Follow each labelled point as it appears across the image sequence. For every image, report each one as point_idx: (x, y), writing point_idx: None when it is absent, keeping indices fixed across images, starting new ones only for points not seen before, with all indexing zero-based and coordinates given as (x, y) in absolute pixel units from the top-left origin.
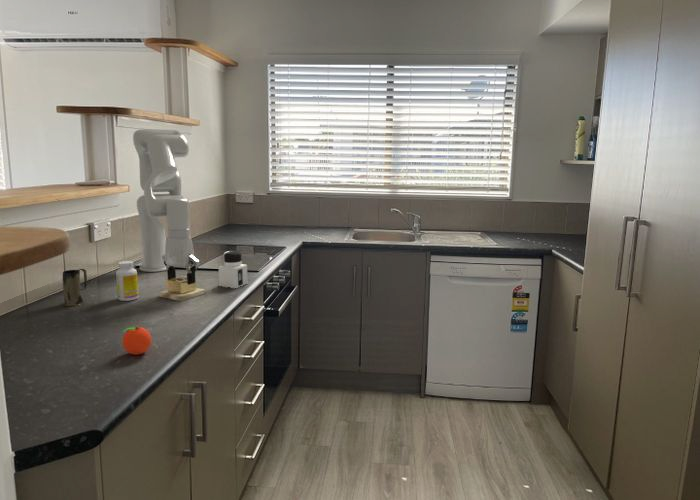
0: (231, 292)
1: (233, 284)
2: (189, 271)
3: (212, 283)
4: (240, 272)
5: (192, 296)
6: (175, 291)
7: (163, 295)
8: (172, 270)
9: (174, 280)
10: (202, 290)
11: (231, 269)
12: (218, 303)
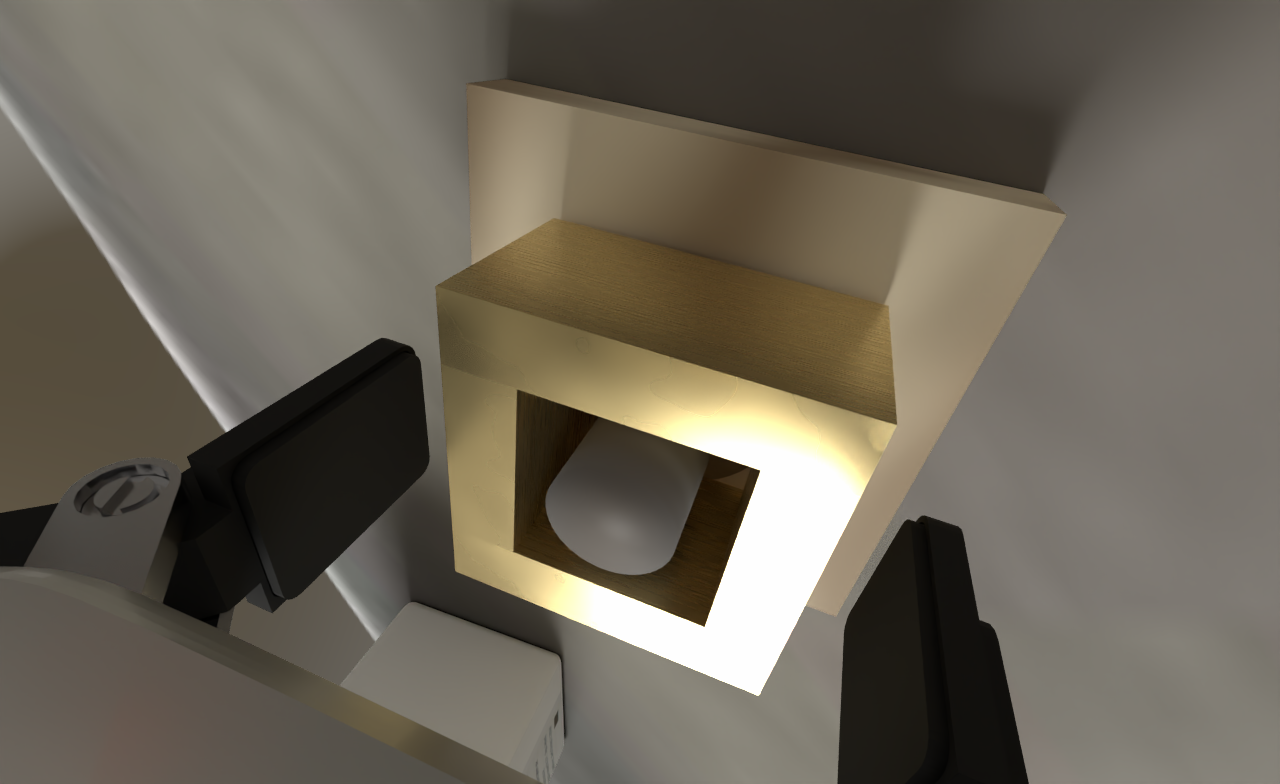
0: None
1: (402, 631)
2: (124, 502)
3: (671, 724)
4: None
5: None
6: (678, 257)
7: (916, 171)
8: (870, 780)
9: (667, 400)
10: None
11: None
12: (149, 175)
